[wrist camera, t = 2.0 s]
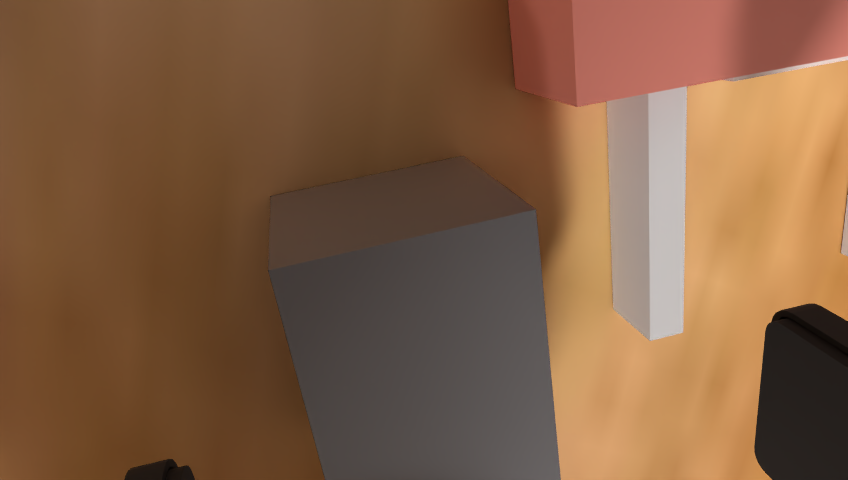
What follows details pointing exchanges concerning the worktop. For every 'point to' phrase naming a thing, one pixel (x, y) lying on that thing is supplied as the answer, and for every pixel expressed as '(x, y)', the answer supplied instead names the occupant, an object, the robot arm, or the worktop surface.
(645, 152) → the pink two-prong plug
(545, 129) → the worktop surface
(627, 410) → the worktop surface
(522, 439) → the gray rectangular box
